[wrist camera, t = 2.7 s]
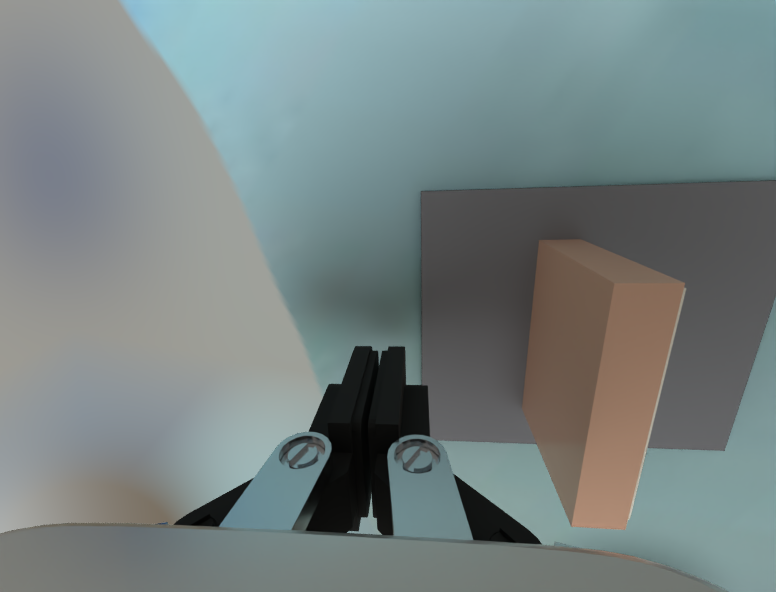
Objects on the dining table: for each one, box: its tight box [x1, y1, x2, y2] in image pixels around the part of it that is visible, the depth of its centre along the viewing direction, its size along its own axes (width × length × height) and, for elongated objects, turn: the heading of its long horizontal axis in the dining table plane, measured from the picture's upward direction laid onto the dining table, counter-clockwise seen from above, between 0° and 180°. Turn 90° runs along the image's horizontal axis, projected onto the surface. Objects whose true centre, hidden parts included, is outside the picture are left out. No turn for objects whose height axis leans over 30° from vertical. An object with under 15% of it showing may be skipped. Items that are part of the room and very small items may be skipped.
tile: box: [522, 239, 686, 530], centre depth 13 cm, size 2×8×6 cm, turn 2°
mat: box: [421, 180, 776, 451], centre depth 16 cm, size 14×12×1 cm
